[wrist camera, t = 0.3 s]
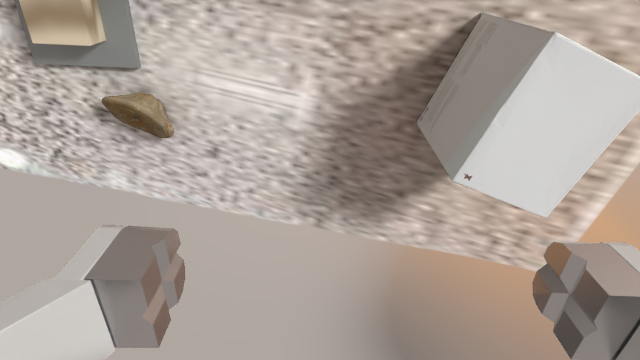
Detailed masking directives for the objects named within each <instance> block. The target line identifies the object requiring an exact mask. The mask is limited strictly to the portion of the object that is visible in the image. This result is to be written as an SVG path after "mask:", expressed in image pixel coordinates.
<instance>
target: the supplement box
mask: <svg viewBox="0 0 640 360" xmlns="http://www.w3.org/2000/svg"><path fill="white" fill-rule="evenodd" d="M639 110H640V76H639V75H637V74H635V73H633V72H631V71H630V70H628V69H626V68H624V67H622V66H620V65H618V64H616V63H614V62H612V61H610V60H608V59H606V58H604V57H602V56H601V55H599V54H597V53H595V52H593V51H591V50H589V49H588V48H586V47H584V46H582V45H580V44H578V43H576V42H574V41H572V40H570V39H569V38H567V37H565V36H563V35H561V34H559V33H557V32H552V31H547V30H543V29H540V28H536V27H533V26H529V25H525V24H521V23H518V22H514V21H511V20H507V19H504V18H500V17H497V16H493V15H491V14H488V13H485V12H482V14H481V17H480V19H479V20H478V22H477V24H476V25H475V27H474V29H473V30H472V32H471V33H470V35H469V37H468V38H467V40H466V42H465V43H464V45H463V47H462V48H461V50H460V52H459V53H458V55H457V56H456V58H455V60H454V61H453V63H452V65H451V66H450V68H449V70H448V71H447V73H446V75H445V76H444V78H443V80H442V81H441V83H440V85H439V86H438V88H437V90H436V91H435V93H434V95H433V96H432V98H431V100H430V101H429V103H428V104H427V106H426V108H425V109H424V111H423V113H422V114H421V116H420V118H419V119H418V121H417V125H418V127H419V129H420V130H421V132H422V133H423V135H424V137H425V138H426V140H427V142H428V143H429V145H430V146H431V148H432V149H433V151H434V153H435V154H436V156H437V157H438V159H439V161H440V162H441V164H442V166H443V167H444V169H445V170H446V172H447V174H448V175H449V177H450V178H451V180H452V181H453V182H455V183H458V184H460V185H463V186H466V187H468V188H471V189H474V190H476V191H479V192H482V193H484V194H487V195H489V196H492V197H494V198H497V199H499V200H502V201H504V202H507V203H509V204H512V205H514V206H517V207H519V208H522V209H525V210H527V211H530V212H532V213H535V214H537V215H540V216H542V217H545V218H546V217H547V216H548V215H549V214H550V213H551V212H552V210H553V209H554V208H555V207H556V206H557V205H558V203H559V202H560V201H561V200H562V199H563V198H564V197H565V195H566V194H567V193H568V192H569V191H570V190H571V188H572V187H573V186H574V185H575V184H576V183H577V181H578V180H579V179H580V178H581V177H582V176H583V174H584V173H585V172H586V171H587V170H588V169H589V167H590V166H591V165H592V164H593V163H594V162H595V160H596V159H597V158H598V157H599V156H600V155H601V154H602V153H603V151H604V150H605V149H606V148H607V147H608V146H609V144H610V143H611V142H612V141H613V140H614V139H615V138H616V136H617V135H618V134H619V133H620V132H621V131H622V130H623V129H624V127H625V126H626V125H627V124H628V123H629V122H630V121H631V119H632V118H633V117H634V116H635V115H636V114H637V113H638V112H639Z"/></svg>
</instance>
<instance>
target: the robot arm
mask: <svg viewBox="0 0 640 360" xmlns="http://www.w3.org/2000/svg"><path fill="white" fill-rule="evenodd" d="M179 246H180V239H179V235H178V231H176V230H175V229H173V228H156V227H138V226H115V225H103V226H101V227H98V228H97V229H96V230H95V231H94V232H93V234H92V235H91V236H90V237H89V238H88V240H87V241H86V242H85V243H84V244H83V245H82V247H81V248H80V249H79V250H78V251H77V252H76V253H75V255H74V256H73V257H72V258H71V259H70V260H69V262H68V263H67V264H66V265H65V266H64V267H63V268H62V270H61V271H60V272H59V273H58V274H57V275H56V276H55V278H54V279H44V280H42V281H40V282H38V283H37V284H34V285H32V286H30V287H29V288H26V289H25V290H22V291H21V292H19V293H17V294H15V295H13V296H11V297H9V298H7V299H5V300H3V301H1V302H0V360H105V359H106V358H107V357H108V356H109V355H110V354H112V353H113V352H114V351H115V348H158V347H159V346H160V344H161V342H162V339H163V337H164V335H165V332H166V330H167V328H168V325H169V323H170V320H171V319H170V314H169V309H170V308H172V307H173V306H174V305H176V304H177V303H178V302H179V299H180V297H181V294H182V292H183V287H184V281H185V266H184V260H183V259H182V258H181V257H180V256H179V255H178V254H177V253H176V252H177V250H178V248H179ZM544 258H545V260H546V262H547V264H546V265H545V266H543V267H542V268H541V269H539V270H538V271H537V272H536V275H535V278H534V280H533V296H534V299H535V302H536V305H537V306H538V308H539V310H540V311H541V313H542V314H543V315H544V316H546V317H547V318H549V319H550V320H551V321H553V322H554V329H553V332H554V334H555V335H556V337H557V338H558V340H559V341H560V343H561V345H562V346H563V348H564V349H565V351H566V352H567V354H568V355H569V357H570V359H572V360H640V252H639V251H638V250H637V249H636V248H635V247H634V246H631V245H629V244H627V243H609V242H608V243H605V242H601V243H579V242H553V243H552V244H551V245H550V246H548V248H547V250H546V252H545V254H544Z"/></svg>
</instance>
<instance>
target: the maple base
mask: <svg viewBox="0 0 640 360" xmlns="http://www.w3.org/2000/svg"><path fill="white" fill-rule="evenodd" d="M19 2H20V5H21V8H22V11H23V14H24V18H25V21H26V24H27V27H28V30H29V33H30V36H31V39H32V43H39V44H61V45H82V46H91V45H94V44H97V43H100V42H103V41H106V38H105V33H104V29H103V25H102V20H101V16H100V11H99V7H98V3H97V0H19Z"/></svg>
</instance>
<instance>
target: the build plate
mask: <svg viewBox="0 0 640 360" xmlns="http://www.w3.org/2000/svg"><path fill="white" fill-rule="evenodd" d="M14 1H15V4H16V7H17V10H18V13H19V16H20V19H21V22H22V25H23V28H24V31H25V34H26V38H27V41H28V44H29V47H30V50H31V53H32V56H33V59H34V62H35V64H55V65H77V66H99V67H121V68H139V67H141V65H140V60H139V55H138V49H137V44H136V39H135V34H134V28H133V23H132V18H131V13H130V7H129V2H128V0H97V3H98V7H99V11H100V16H101V20H102V25H103V29H104V33H105V38H106V41H103V42H100V43H97V44H94V45H91V46H82V45H61V44H39V43H32V39H31V36H30V33H29V30H28V27H27V24H26V21H25V18H24V14H23V11H22V8H21V5H20V2H19V0H14Z"/></svg>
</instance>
